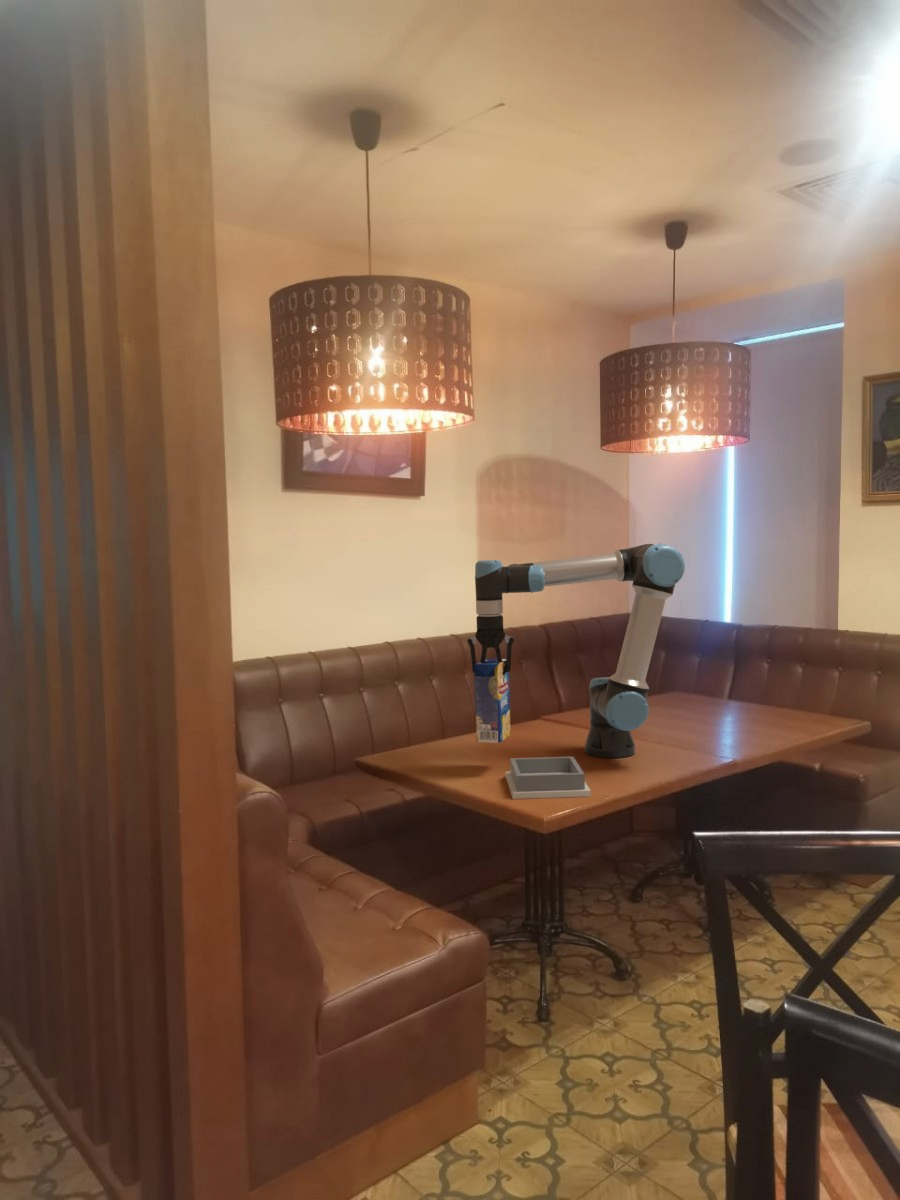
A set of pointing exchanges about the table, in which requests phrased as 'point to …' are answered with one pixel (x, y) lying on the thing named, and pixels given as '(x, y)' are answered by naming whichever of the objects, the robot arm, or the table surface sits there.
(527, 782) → the holder
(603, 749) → the robot arm
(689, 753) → the table surface
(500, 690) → the beverage box
